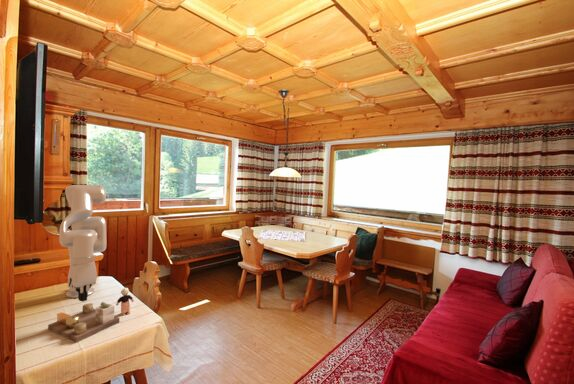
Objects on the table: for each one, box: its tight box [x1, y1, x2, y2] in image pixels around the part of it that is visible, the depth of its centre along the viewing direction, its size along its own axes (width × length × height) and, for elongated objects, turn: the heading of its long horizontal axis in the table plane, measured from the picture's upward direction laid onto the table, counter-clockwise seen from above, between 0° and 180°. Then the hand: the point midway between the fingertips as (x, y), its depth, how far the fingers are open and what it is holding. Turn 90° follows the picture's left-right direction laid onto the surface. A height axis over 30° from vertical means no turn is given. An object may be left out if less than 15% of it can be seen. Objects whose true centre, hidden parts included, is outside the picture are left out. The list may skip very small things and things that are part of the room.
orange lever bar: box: [56, 312, 79, 329], centre depth 123 cm, size 12×4×4 cm, turn 66°
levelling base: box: [47, 301, 120, 343], centre depth 126 cm, size 20×18×10 cm
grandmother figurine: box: [115, 287, 135, 317], centre depth 137 cm, size 8×4×13 cm, turn 148°
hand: (82, 300), depth 129 cm, fingers closed
